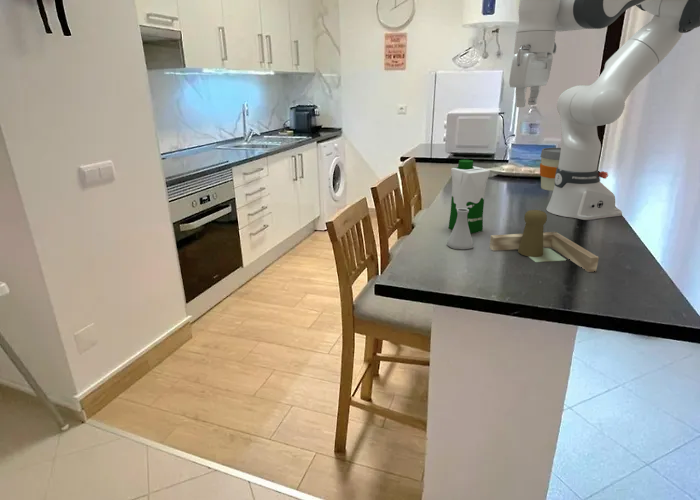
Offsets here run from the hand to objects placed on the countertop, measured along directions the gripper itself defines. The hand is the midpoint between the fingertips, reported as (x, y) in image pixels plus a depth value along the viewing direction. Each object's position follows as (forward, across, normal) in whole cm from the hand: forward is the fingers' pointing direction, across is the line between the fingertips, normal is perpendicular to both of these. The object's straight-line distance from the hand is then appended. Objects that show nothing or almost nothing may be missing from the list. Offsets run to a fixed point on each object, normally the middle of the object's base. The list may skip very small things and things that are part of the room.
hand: (526, 106), depth 113 cm
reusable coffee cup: (+35, +66, +5) cm, 75 cm away
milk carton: (+35, -1, +13) cm, 38 cm away
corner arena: (+35, -12, -11) cm, 39 cm away
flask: (+35, -14, +9) cm, 39 cm away
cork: (+35, -9, -8) cm, 37 cm away
